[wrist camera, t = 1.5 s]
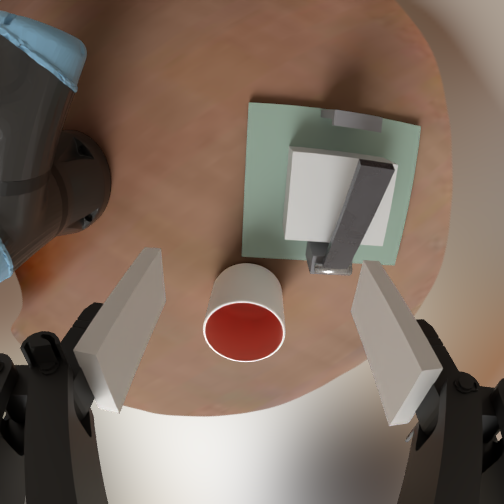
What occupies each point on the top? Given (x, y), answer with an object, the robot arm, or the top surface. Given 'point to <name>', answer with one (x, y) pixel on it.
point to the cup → (245, 314)
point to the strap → (356, 215)
